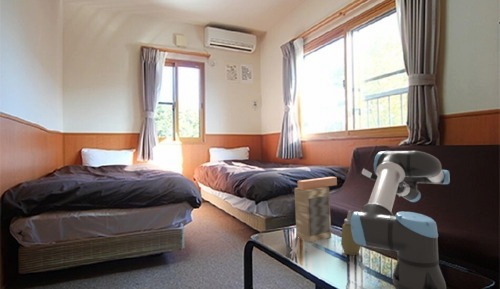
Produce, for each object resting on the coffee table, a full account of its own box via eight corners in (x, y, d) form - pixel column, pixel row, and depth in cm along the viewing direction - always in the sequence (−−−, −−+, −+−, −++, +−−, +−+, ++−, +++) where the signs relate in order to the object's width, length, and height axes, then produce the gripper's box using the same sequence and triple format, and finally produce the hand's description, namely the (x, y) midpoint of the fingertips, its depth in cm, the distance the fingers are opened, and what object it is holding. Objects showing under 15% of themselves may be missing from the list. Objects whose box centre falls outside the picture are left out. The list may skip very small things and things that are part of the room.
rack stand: (318, 232, 154) (316, 185, 154) (331, 237, 145) (329, 187, 145) (296, 236, 148) (294, 188, 148) (309, 242, 139) (306, 190, 139)
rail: (331, 184, 155) (331, 176, 155) (337, 185, 151) (336, 177, 151) (297, 188, 145) (297, 180, 145) (302, 189, 142) (302, 181, 141)
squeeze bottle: (363, 256, 120) (361, 213, 120) (342, 256, 122) (340, 213, 121) (359, 249, 128) (357, 208, 128) (340, 249, 129) (338, 208, 129)
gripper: (419, 198, 143) (393, 184, 134) (376, 189, 165) (352, 176, 156) (423, 184, 144) (398, 168, 135) (380, 177, 166) (356, 163, 157)
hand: (373, 172), depth 145 cm, fingers open, 13 cm apart
